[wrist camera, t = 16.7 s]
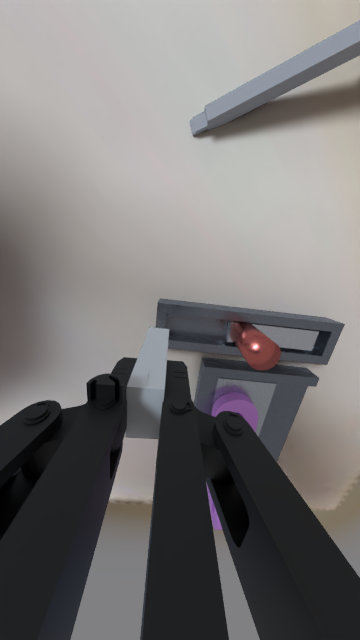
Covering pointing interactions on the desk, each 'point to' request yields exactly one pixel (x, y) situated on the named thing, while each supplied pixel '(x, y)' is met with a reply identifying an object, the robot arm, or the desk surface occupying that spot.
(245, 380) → the press bed
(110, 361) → the desk surface
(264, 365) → the lever
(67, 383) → the desk surface
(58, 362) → the desk surface
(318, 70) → the caliper
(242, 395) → the bracket
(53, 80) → the desk surface
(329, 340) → the frame
